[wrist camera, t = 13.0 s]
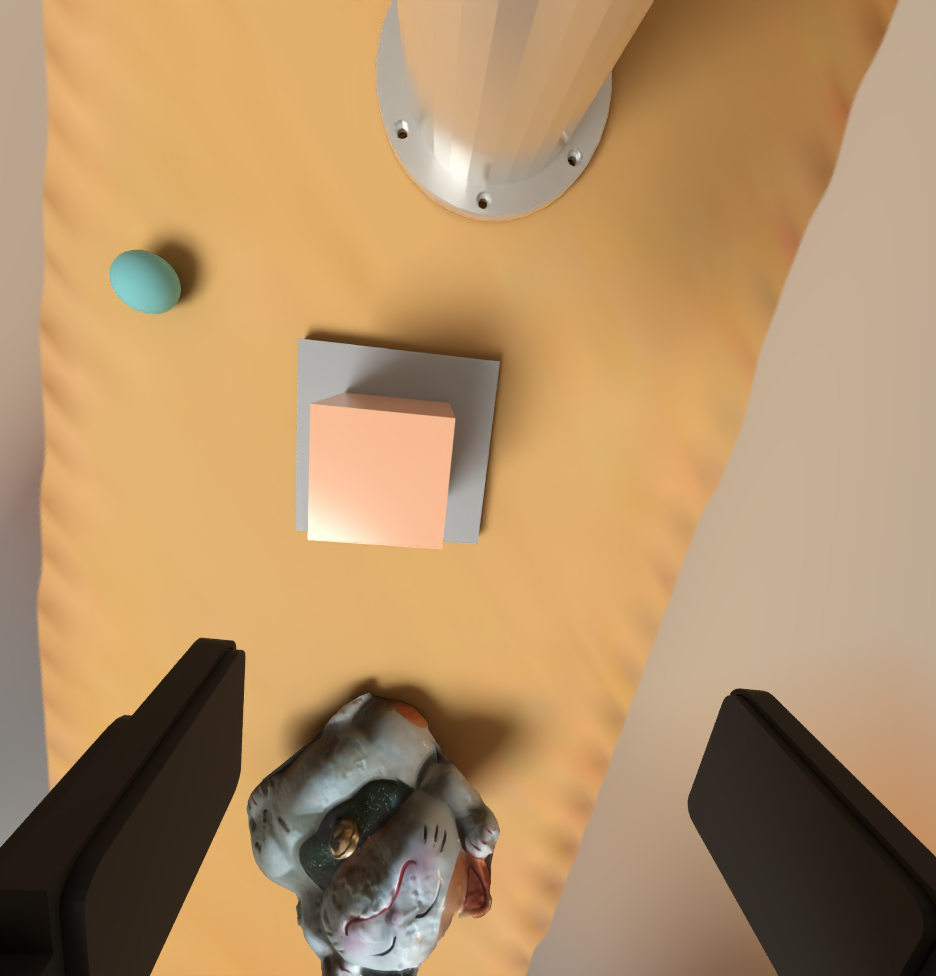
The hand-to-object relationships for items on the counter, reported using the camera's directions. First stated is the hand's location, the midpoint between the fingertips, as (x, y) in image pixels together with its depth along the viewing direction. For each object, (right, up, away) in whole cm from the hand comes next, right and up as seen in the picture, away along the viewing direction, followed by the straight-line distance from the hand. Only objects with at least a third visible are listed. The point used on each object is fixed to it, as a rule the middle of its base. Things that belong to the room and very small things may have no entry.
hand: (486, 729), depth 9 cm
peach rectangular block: (-5, +7, +20) cm, 22 cm away
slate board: (-5, +7, +21) cm, 23 cm away
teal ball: (-18, +16, +18) cm, 30 cm away
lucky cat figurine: (-7, -17, +28) cm, 34 cm away
